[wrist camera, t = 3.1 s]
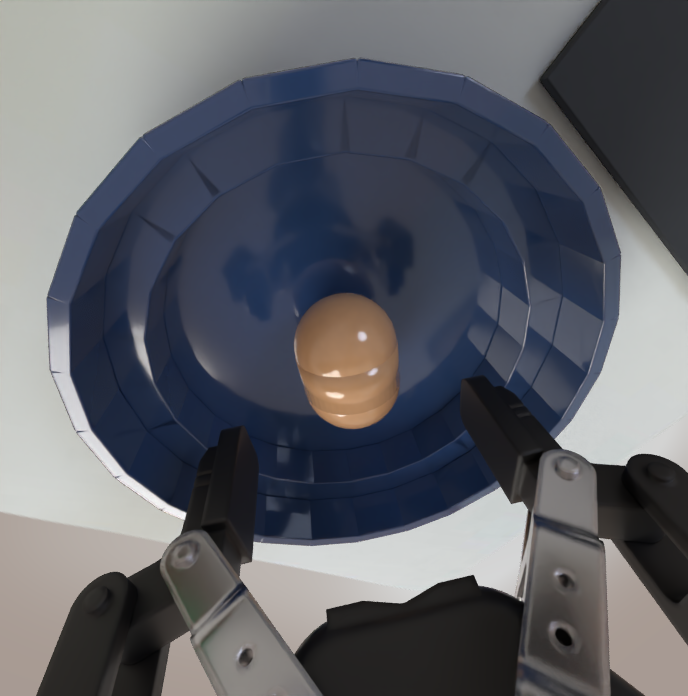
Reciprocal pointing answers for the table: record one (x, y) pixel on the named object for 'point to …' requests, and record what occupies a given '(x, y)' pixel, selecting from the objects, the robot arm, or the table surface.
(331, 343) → the bread roll
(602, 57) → the mat
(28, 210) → the table surface
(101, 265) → the basin
